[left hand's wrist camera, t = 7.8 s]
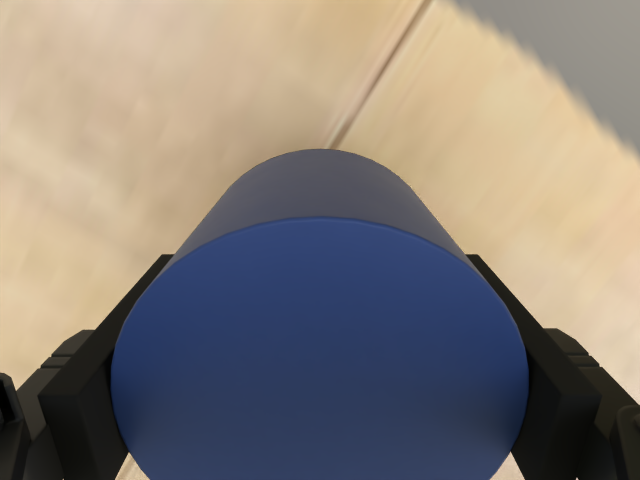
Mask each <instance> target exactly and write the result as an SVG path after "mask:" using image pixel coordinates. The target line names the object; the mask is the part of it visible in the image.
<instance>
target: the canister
mask: <svg viewBox="0 0 640 480" xmlns="http://www.w3.org/2000/svg"><path fill="white" fill-rule="evenodd" d="M110 391H111V398H112V405H113V412H114V415H115V419H116V422H117V425H118V428H119V432H120V434H121V436H122V438H123V440H124V442H125V444H126V446H127V448H128V451H129V452H130V454H131V455H132V457H133V458H134V460H135V461H136V463H137V464H138V466H139V467H140V469H141V470H142V471H143V472H144V473H145V474H146V476H147V477H148V478H149V479H150V480H490V478H491V477H492V476H493V475H494V474H495V473H496V472H497V471H498V469H499V468H500V466H501V465H502V463H503V462H504V461H505V459H506V458H507V456H508V455H509V453H510V451H511V449H512V447H513V445H514V443H515V441H516V439H517V438H518V436H519V433H520V430H521V427H522V424H523V421H524V418H525V414H526V408H527V402H528V396H529V369H528V363H527V357H526V351H525V347H524V344H523V341H522V338H521V335H520V333H519V330H518V327H517V325H516V323H515V321H514V319H513V317H512V316H511V314H510V312H509V310H508V308H507V307H506V305H505V303H504V302H503V301H502V299H501V298H500V297H499V296H498V294H497V293H496V292H495V291H494V289H493V288H492V287H491V286H490V284H489V283H488V282H487V281H486V279H485V278H484V277H483V276H482V275H481V273H480V272H479V271H478V270H477V268H476V267H475V266H474V265H473V264H472V262H471V261H470V260H469V259H468V257H467V256H466V255H465V254H464V253H463V251H462V250H461V249H460V248H459V246H458V245H457V244H456V243H455V242H454V240H453V239H452V238H451V237H450V235H449V234H448V233H447V232H446V231H445V229H444V228H443V227H442V226H441V224H440V223H439V222H438V221H437V220H436V218H435V217H434V216H433V215H432V213H431V212H430V211H429V210H428V208H427V207H426V206H425V205H424V204H423V202H422V201H421V200H420V199H419V197H418V196H417V195H416V194H415V193H414V191H413V190H412V189H411V188H410V187H409V186H408V185H407V184H406V183H405V182H404V181H403V180H402V179H401V178H400V177H399V176H397V175H396V174H395V173H393V172H392V171H390V170H389V169H387V168H386V167H384V166H382V165H381V164H379V163H377V162H375V161H373V160H371V159H368V158H365V157H363V156H360V155H357V154H354V153H349V152H344V151H340V150H329V149H310V150H301V151H295V152H290V153H286V154H283V155H280V156H277V157H274V158H271V159H269V160H267V161H265V162H263V163H261V164H259V165H257V166H255V167H254V168H252V169H251V170H249V171H248V172H246V173H245V174H243V175H242V176H241V177H240V178H239V179H238V180H237V181H236V182H234V183H233V184H232V185H231V186H230V187H229V189H228V190H227V191H226V192H225V193H224V195H223V196H222V197H221V198H220V200H219V201H218V202H217V203H216V204H215V206H214V207H213V208H212V209H211V211H210V212H209V213H208V214H207V215H206V217H205V218H204V219H203V220H202V222H201V223H200V224H199V225H198V226H197V228H196V229H195V230H194V231H193V233H192V234H191V235H190V236H189V237H188V239H187V240H186V241H185V242H184V244H183V245H182V246H181V247H180V248H179V250H178V251H177V252H176V253H175V255H174V256H173V257H172V258H171V259H170V261H169V262H168V263H167V264H166V266H165V267H164V268H163V269H162V270H161V272H160V273H159V274H158V275H157V277H156V278H155V279H154V280H153V281H152V283H151V284H150V285H149V286H148V288H147V289H146V290H145V291H144V292H143V294H142V295H141V296H140V297H139V299H138V300H137V301H136V303H135V305H134V306H133V308H132V310H131V311H130V313H129V315H128V316H127V318H126V320H125V321H124V324H123V326H122V329H121V332H120V334H119V337H118V339H117V342H116V345H115V350H114V355H113V360H112V365H111V387H110Z"/></svg>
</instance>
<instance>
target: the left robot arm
mask: <svg viewBox="0 0 640 480" xmlns="http://www.w3.org/2000/svg"><path fill="white" fill-rule="evenodd" d="M174 255H175V254H162V255H161V256H160V257H159V258H158V260H157V261H156V262H155V263H154V264H153V265H152V266H151V267H150V269H149V270H148V271H147V272H146V273H145V274H144V275H143V276H142V278H141V279H140V280H139V281H138V282H137V283H136V284H135V285H134V287H133V288H132V289H131V290H130V291H129V292H128V293H127V294H126V296H125V297H124V298H123V299H122V300H121V301H120V302H119V304H118V305H117V306H116V307H115V308H114V309H113V310H112V311H111V313H110V314H109V315H108V316H107V317H106V318H105V319H104V320H103V322H102V323H101V324H100V325H99V326H98V327H97V328H96V329H95V330H82V331H80V332H79V333H77V334H75V335H74V336H72V337H70V338H69V339H67V340H66V341H64V342H63V343H62V344H61V345H60V346H59V347H58V348H57V349H56V350H55V351H54V352H53V354H52V356H51V357H49V358H48V359H47V360H46V361H45V362H44V363H43V364H42V365H41V368H40V369H37V370H36V371H35V372H34V373H33V374H32V375H31V376H30V377H29V378H28V379H27V380H26V382H25V383H24V384H23V385H22V386H21V387H20V388H19V389H18V390H17V391H16V390H15V387H14V384H13V381H12V378H11V377H10V376H8V375H6V374H5V373H0V480H63V479H64V480H115V478H116V476H117V474H118V472H119V470H120V468H121V466H122V464H123V462H124V460H125V458H126V456H127V455H128V453H129V451H128V448H127V446H126V444H125V442H124V440H123V438H122V436H121V434H120V432H119V428H118V425H117V422H116V419H115V415H114V412H113V405H112V398H111V391H110V387H111V365H112V360H113V355H114V350H115V345H116V342H117V339H118V337H119V334H120V332H121V329H122V326H123V324H124V321H125V320H126V318H127V316H128V315H129V313H130V311H131V310H132V308H133V306H134V305H135V303H136V301H137V300H138V299H139V297H140V296H141V295H142V294H143V292H144V291H145V290H146V289H147V288H148V286H149V285H150V284H151V283H152V281H153V280H154V279H155V278H156V277H157V275H158V274H159V273H160V272H161V270H162V269H163V268H164V267H165V266H166V264H167V263H168V262H169V261H170V259H171V258H172V257H173V256H174ZM465 255H466V256H467V257H468V259H469V260H470V261H471V262H472V264H473V265H474V266H475V267H476V268H477V270H478V271H479V272H480V273H481V275H482V276H483V277H484V278H485V279H486V281H487V282H488V283H489V284H490V286H491V287H492V288H493V289H494V291H495V292H496V293H497V294H498V296H499V297H500V298H501V299H502V301H503V302H504V303H505V305H506V307H507V308H508V310H509V312H510V314H511V316H512V317H513V319H514V321H515V323H516V325H517V327H518V330H519V333H520V335H521V338H522V341H523V344H524V347H525V351H526V357H527V363H528V369H529V396H528V402H527V408H526V414H525V418H524V421H523V424H522V427H521V430H520V433H519V436H518V438H517V439H516V441H515V443H514V445H513V447H512V449H511V453H512V455H513V457H514V459H515V461H516V463H517V465H518V467H519V469H520V471H521V473H522V475H523V477H524V479H525V480H576V478H578V480H640V405H638V404H637V402H636V401H635V400H634V399H633V398H632V397H631V396H630V395H629V394H628V393H627V392H626V391H625V390H624V389H623V388H622V387H621V386H620V385H619V384H618V383H617V382H616V381H615V380H614V379H613V378H612V377H611V376H610V375H609V374H608V373H607V372H606V371H605V370H604V368H603V367H600V366H599V363H598V362H597V361H596V360H595V359H594V358H593V357H592V356H589V353H588V352H587V351H586V350H585V349H584V348H583V347H582V346H581V345H580V344H579V343H578V342H577V341H576V340H575V339H573V338H572V337H570V336H569V335H567V334H565V333H564V332H562V331H560V330H559V329H557V328H542V326H541V325H540V324H539V323H538V322H537V321H536V320H535V319H534V317H533V316H532V315H531V314H530V313H529V312H528V311H527V309H526V308H525V307H524V306H523V305H522V304H521V303H520V302H519V300H518V299H517V298H516V297H515V296H514V295H513V294H512V293H511V291H510V290H509V289H508V288H507V287H506V286H505V285H504V284H503V282H502V281H501V280H500V279H499V278H498V277H497V276H496V274H495V273H494V272H493V271H492V270H491V269H490V268H489V267H488V265H487V264H486V263H485V262H484V261H483V260H482V259H481V258H480V256H479V255H478V254H465Z"/></svg>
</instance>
